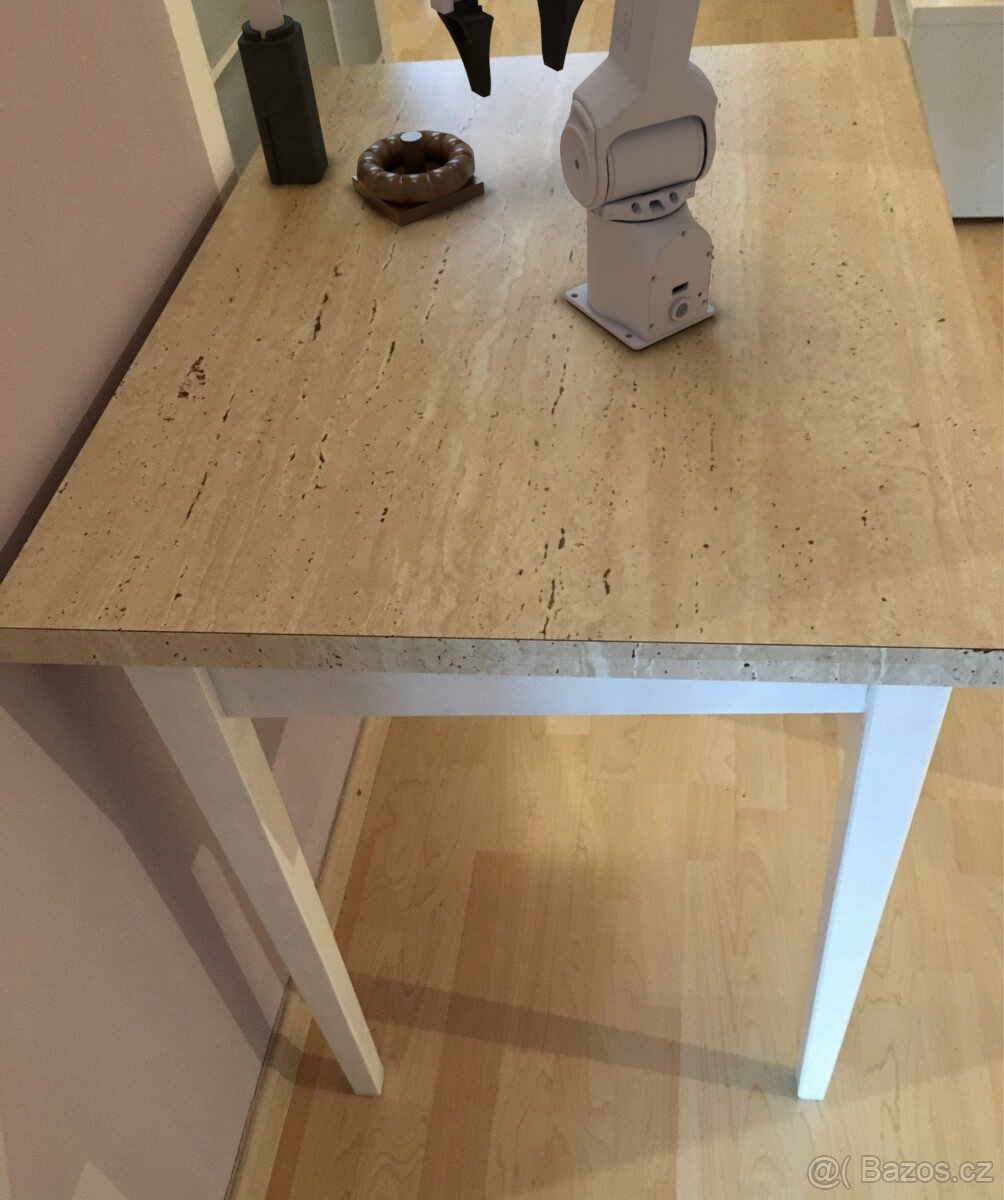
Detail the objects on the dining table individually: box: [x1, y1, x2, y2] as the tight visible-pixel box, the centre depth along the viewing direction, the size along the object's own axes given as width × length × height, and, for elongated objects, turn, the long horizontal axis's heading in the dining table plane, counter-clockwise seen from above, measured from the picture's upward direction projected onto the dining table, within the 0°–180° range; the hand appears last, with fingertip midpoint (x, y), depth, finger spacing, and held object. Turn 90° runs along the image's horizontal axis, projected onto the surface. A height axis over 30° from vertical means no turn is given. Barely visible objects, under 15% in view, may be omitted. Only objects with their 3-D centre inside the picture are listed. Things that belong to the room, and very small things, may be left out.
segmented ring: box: [356, 129, 476, 204], centre depth 96 cm, size 11×11×2 cm
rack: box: [351, 130, 485, 227], centre depth 96 cm, size 9×9×5 cm
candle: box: [236, 0, 329, 186], centre depth 93 cm, size 5×5×25 cm
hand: (517, 80), depth 91 cm, fingers open, 7 cm apart
